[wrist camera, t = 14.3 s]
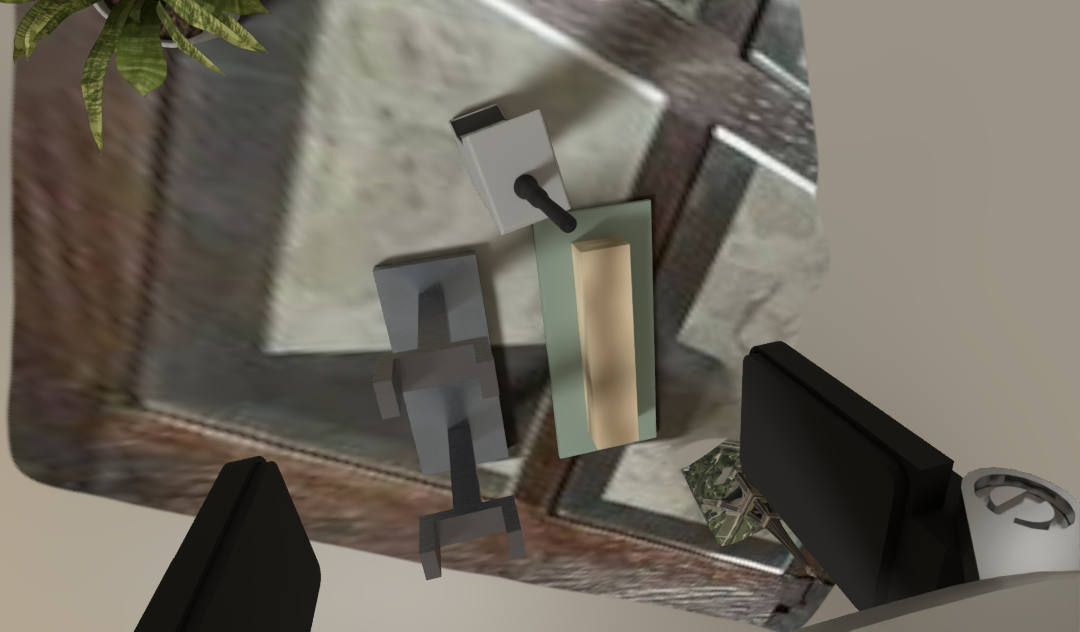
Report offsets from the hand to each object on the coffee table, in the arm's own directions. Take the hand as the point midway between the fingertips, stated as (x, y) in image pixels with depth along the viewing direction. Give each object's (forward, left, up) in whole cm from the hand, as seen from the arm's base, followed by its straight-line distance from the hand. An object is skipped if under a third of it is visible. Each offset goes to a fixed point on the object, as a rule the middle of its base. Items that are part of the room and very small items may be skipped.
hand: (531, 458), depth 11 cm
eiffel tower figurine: (-26, +38, -34) cm, 57 cm away
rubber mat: (-11, +15, -34) cm, 38 cm away
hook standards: (+3, +15, -34) cm, 37 cm away
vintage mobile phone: (-3, -3, -34) cm, 34 cm away
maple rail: (-11, +15, -33) cm, 38 cm away
